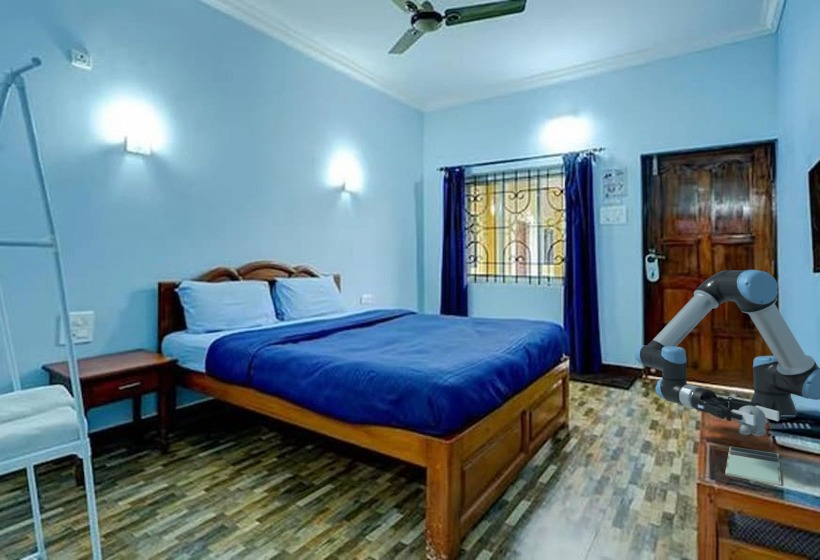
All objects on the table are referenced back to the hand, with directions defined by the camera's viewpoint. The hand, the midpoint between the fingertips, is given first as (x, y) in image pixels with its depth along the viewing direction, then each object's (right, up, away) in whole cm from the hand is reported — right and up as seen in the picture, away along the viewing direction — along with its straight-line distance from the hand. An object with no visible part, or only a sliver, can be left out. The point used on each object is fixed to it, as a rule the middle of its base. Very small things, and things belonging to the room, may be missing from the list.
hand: (766, 418), depth 137 cm
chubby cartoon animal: (-1, -6, +5) cm, 8 cm away
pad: (0, -16, +5) cm, 17 cm away
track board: (+2, -17, +8) cm, 19 cm away
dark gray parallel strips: (+7, -16, +14) cm, 22 cm away
